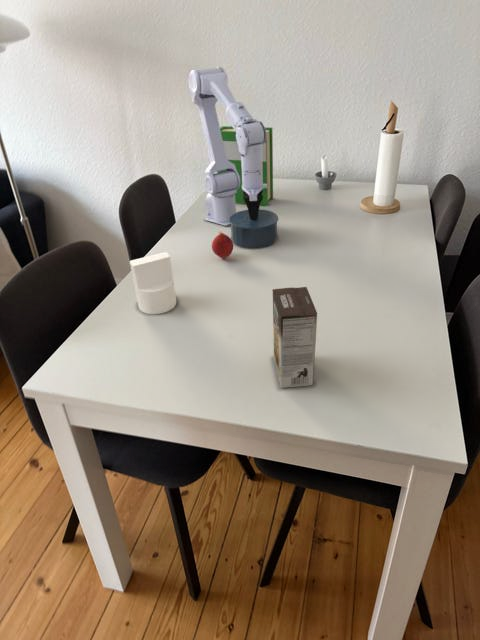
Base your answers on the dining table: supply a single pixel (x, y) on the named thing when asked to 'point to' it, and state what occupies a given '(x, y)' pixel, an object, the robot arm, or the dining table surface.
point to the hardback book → (235, 158)
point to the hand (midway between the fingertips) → (253, 216)
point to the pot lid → (253, 220)
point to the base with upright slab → (154, 283)
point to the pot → (254, 237)
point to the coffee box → (294, 336)
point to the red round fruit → (222, 245)
